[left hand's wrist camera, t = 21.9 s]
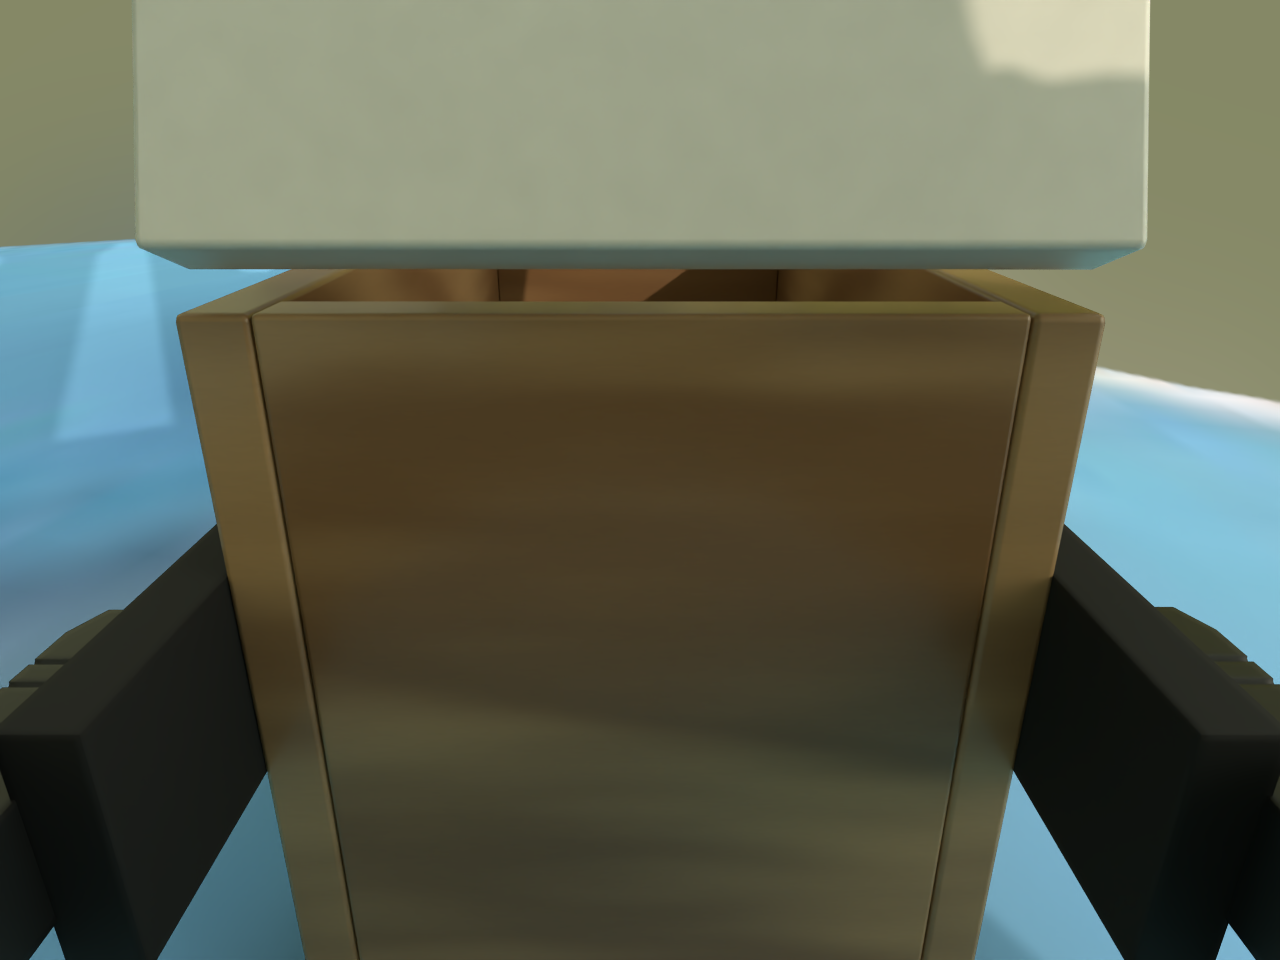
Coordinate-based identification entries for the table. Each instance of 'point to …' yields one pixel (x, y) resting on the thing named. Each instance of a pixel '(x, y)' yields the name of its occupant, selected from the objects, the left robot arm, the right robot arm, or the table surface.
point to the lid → (641, 133)
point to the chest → (640, 597)
